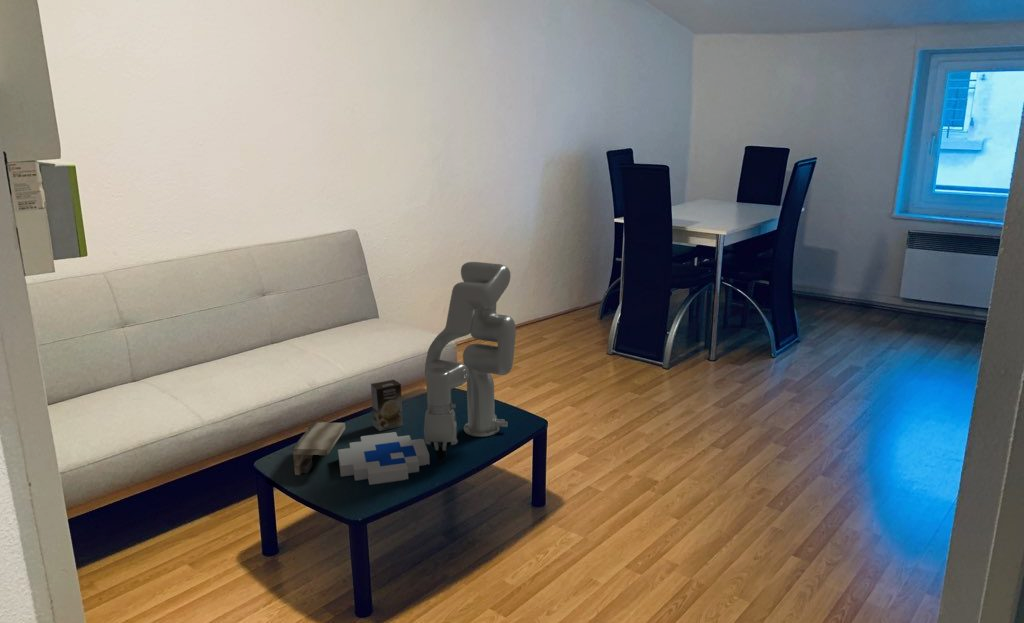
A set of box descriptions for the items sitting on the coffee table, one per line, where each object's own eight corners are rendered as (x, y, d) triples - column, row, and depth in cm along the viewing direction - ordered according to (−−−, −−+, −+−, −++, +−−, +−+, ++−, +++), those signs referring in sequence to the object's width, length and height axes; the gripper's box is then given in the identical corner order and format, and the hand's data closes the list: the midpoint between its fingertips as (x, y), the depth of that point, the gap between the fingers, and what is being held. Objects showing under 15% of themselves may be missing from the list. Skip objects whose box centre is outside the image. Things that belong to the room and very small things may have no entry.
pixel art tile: (419, 429, 270) (433, 465, 244) (419, 439, 271) (434, 476, 245) (336, 439, 263) (341, 477, 237) (337, 450, 264) (342, 489, 238)
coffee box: (379, 431, 277) (376, 389, 273) (372, 425, 282) (369, 383, 278) (403, 426, 282) (401, 384, 277) (396, 419, 287) (394, 378, 282)
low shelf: (347, 447, 265) (345, 422, 263) (329, 475, 246) (327, 449, 244) (315, 446, 266) (312, 422, 264) (295, 474, 247) (292, 448, 245)
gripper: (464, 403, 251) (466, 455, 256) (418, 402, 252) (420, 454, 257) (461, 412, 244) (463, 466, 249) (413, 411, 245) (416, 465, 250)
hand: (441, 460), depth 253 cm, fingers closed
